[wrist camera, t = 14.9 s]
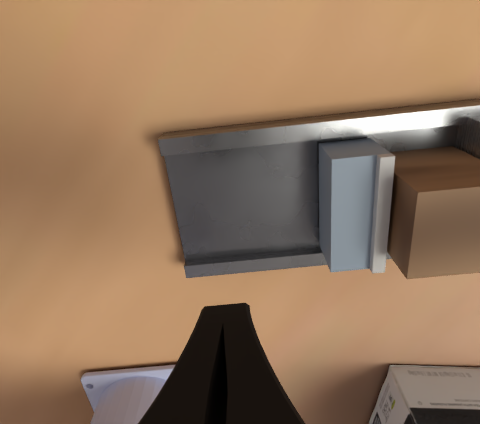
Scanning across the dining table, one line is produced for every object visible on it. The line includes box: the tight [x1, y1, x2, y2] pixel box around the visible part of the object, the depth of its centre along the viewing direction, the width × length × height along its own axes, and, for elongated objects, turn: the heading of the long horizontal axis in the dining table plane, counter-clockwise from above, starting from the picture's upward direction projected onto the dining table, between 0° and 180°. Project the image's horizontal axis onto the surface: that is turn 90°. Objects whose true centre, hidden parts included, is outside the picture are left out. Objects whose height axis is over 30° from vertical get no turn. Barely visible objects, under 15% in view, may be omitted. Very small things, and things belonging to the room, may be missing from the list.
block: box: [387, 146, 480, 279], centre depth 17 cm, size 4×4×5 cm
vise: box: [158, 99, 480, 278], centre depth 18 cm, size 8×17×3 cm, turn 96°
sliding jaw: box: [319, 138, 395, 273], centre depth 17 cm, size 6×2×3 cm, turn 6°
